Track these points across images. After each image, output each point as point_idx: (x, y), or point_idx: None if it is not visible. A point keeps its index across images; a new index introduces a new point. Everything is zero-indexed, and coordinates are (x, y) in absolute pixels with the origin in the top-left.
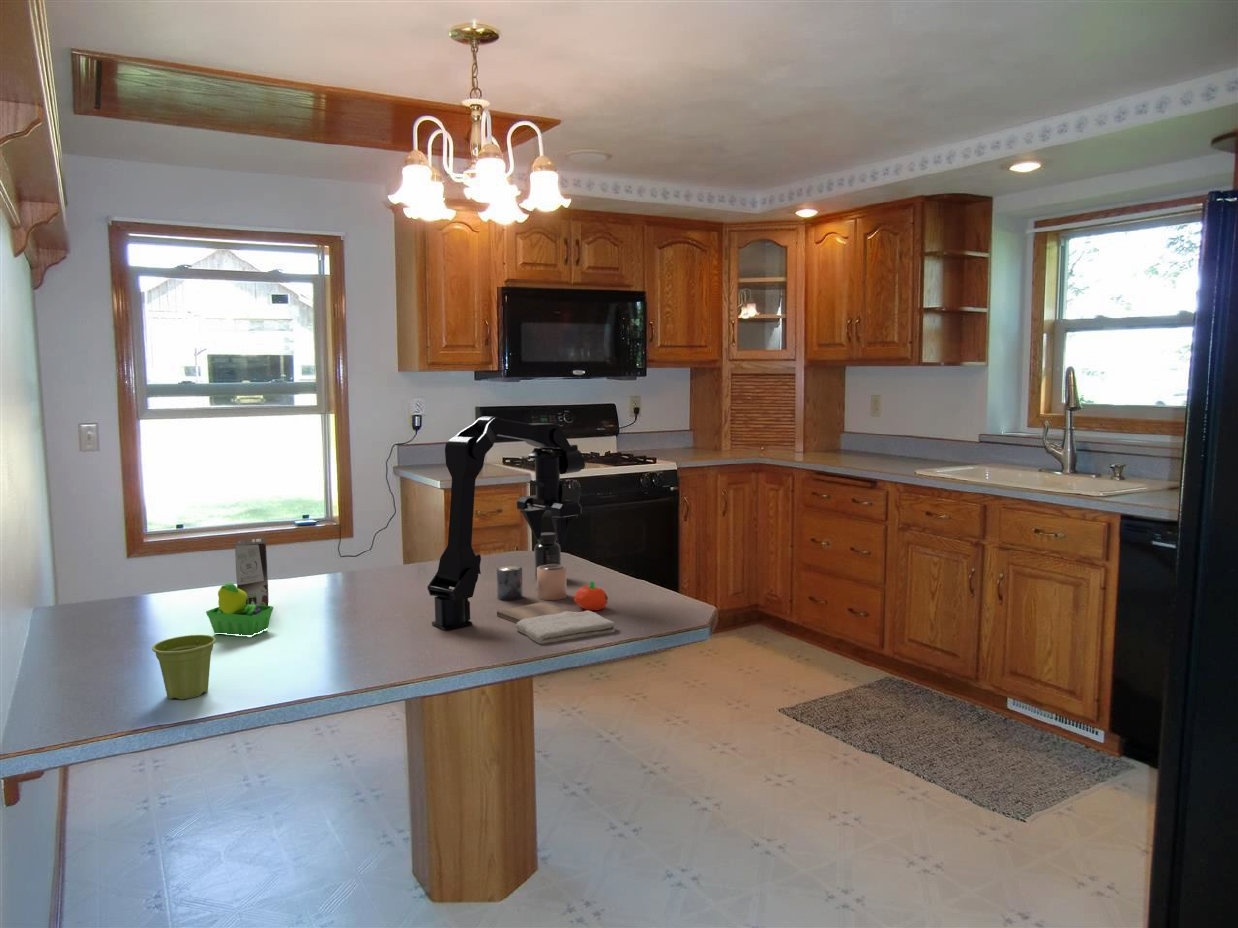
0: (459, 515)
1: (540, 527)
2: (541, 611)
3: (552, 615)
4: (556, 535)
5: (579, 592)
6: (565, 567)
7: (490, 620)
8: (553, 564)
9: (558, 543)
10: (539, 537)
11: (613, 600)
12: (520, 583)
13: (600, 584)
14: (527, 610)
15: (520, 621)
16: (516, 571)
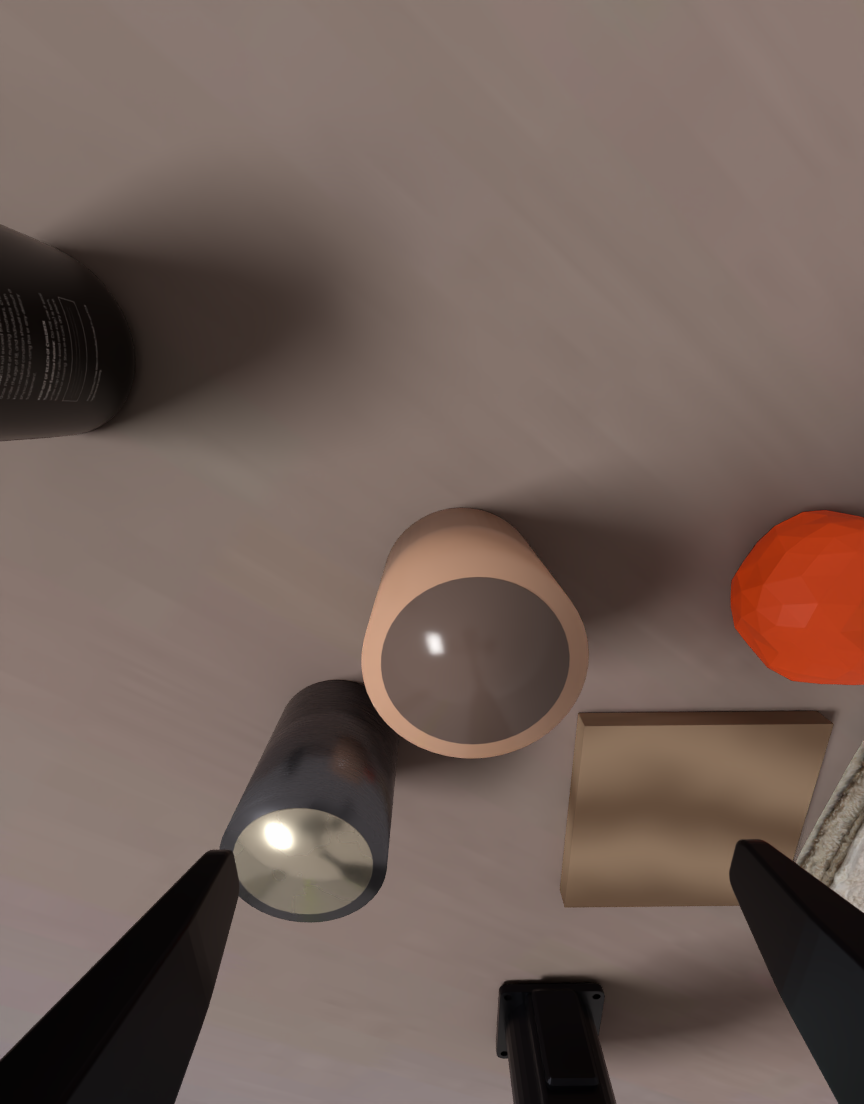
0: None
1: (117, 1044)
2: (706, 802)
3: (860, 856)
4: (847, 1080)
5: (841, 683)
6: (550, 588)
7: (593, 925)
8: (52, 345)
9: (741, 895)
10: (224, 875)
11: (779, 382)
12: (386, 764)
13: (408, 147)
14: (649, 831)
15: None
16: (386, 853)
